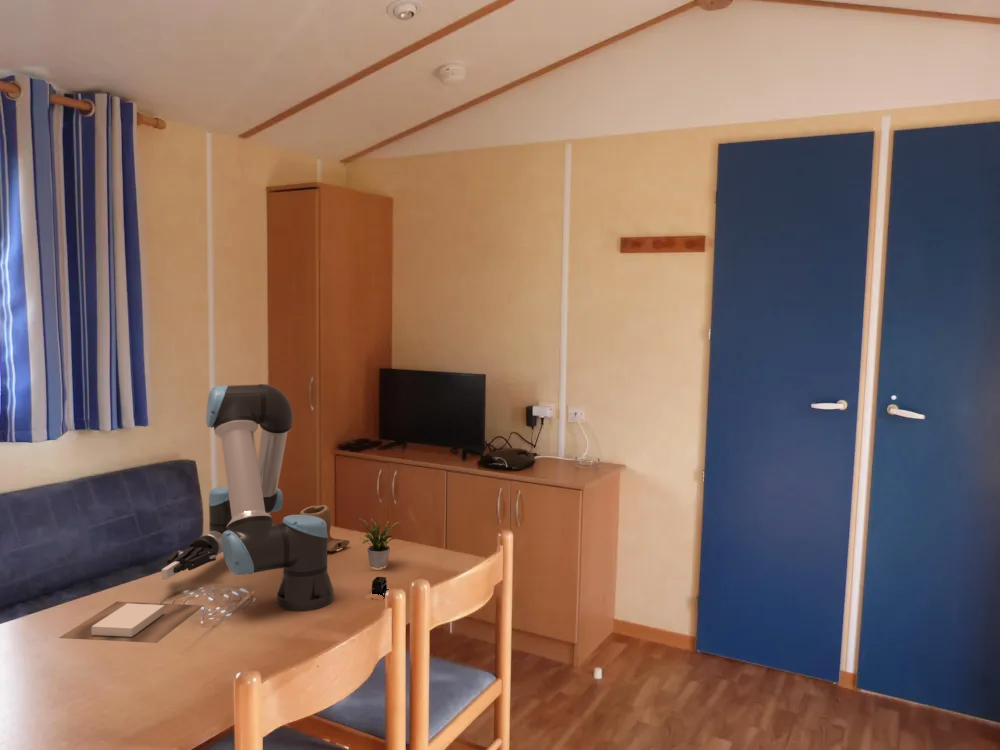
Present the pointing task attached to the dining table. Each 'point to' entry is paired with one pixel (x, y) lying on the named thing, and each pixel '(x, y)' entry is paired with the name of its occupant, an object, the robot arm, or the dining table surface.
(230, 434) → the robot arm
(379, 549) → the house plant
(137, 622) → the tile
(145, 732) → the dining table surface
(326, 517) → the tan ankle boot
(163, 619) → the board
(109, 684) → the dining table surface
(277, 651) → the dining table surface
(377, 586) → the black small block
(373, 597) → the dining table surface
